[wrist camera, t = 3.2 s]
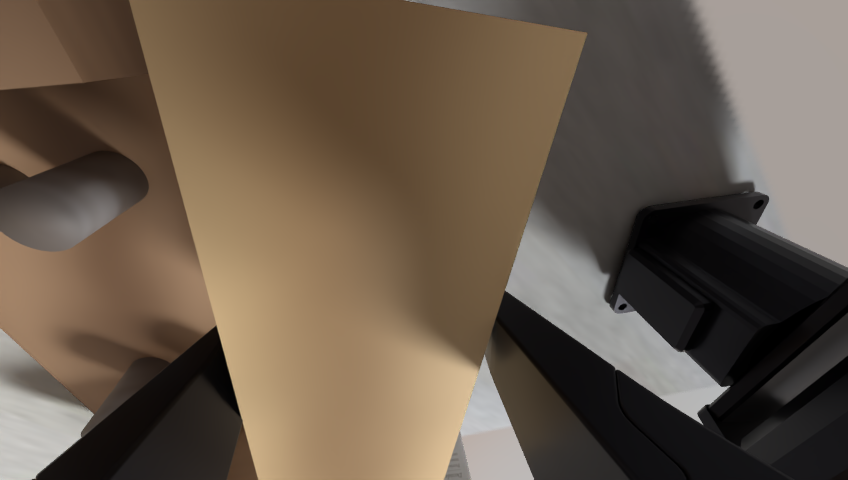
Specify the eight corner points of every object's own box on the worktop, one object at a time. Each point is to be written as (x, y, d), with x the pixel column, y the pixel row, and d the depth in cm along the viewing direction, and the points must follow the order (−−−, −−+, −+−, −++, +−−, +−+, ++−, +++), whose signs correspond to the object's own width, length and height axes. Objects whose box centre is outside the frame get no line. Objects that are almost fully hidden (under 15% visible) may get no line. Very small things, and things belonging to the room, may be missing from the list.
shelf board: (502, 37, 6) (588, 32, 4) (426, 400, 12) (440, 490, 10) (231, -7, 6) (115, -51, 3) (289, 408, 12) (266, 510, 9)
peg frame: (190, 1, 9) (12, -42, 5) (331, 386, 19) (319, 497, 14) (-266, 33, 8) (-1070, 18, 4) (129, 422, 18) (45, 554, 13)
